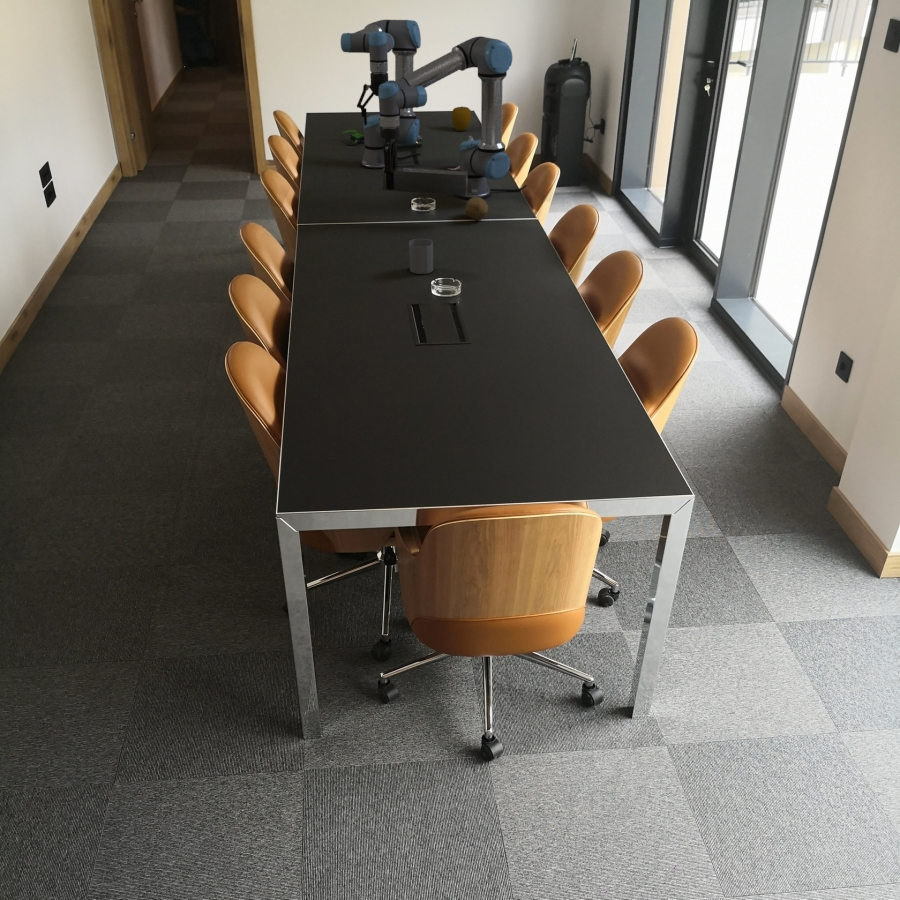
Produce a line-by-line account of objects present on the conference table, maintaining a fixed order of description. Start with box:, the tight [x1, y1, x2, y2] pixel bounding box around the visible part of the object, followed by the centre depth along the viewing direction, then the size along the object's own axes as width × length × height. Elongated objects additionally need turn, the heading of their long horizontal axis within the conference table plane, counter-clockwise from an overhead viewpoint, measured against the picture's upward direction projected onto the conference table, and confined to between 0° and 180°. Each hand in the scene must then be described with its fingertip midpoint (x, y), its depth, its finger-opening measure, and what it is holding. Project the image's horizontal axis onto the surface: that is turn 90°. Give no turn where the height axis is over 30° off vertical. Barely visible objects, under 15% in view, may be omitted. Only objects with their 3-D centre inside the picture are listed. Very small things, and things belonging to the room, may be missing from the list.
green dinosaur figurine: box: [340, 129, 364, 146], centre depth 465 cm, size 6×13×30 cm
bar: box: [381, 167, 468, 196], centre depth 344 cm, size 34×5×8 cm, turn 81°
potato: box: [464, 197, 489, 220], centre depth 355 cm, size 10×14×8 cm
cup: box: [408, 237, 434, 275], centre depth 305 cm, size 8×8×10 cm
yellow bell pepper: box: [451, 105, 472, 132], centre depth 487 cm, size 11×11×13 cm
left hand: (381, 125), depth 376 cm, fingers open, 13 cm apart
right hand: (391, 187), depth 348 cm, fingers closed on bar, 5 cm apart
